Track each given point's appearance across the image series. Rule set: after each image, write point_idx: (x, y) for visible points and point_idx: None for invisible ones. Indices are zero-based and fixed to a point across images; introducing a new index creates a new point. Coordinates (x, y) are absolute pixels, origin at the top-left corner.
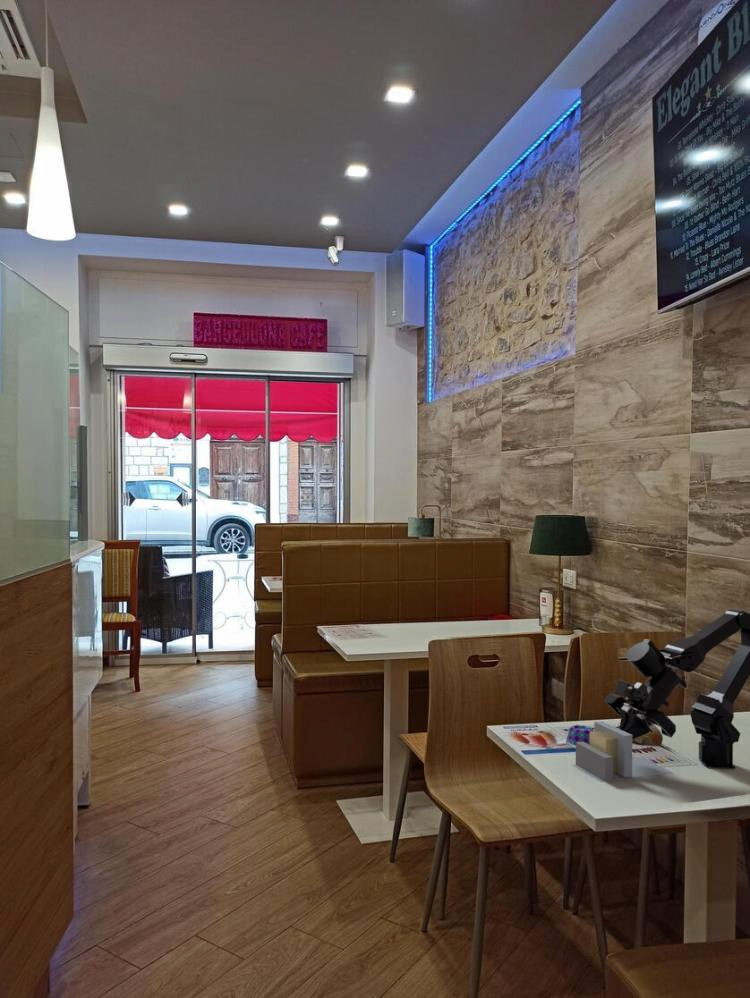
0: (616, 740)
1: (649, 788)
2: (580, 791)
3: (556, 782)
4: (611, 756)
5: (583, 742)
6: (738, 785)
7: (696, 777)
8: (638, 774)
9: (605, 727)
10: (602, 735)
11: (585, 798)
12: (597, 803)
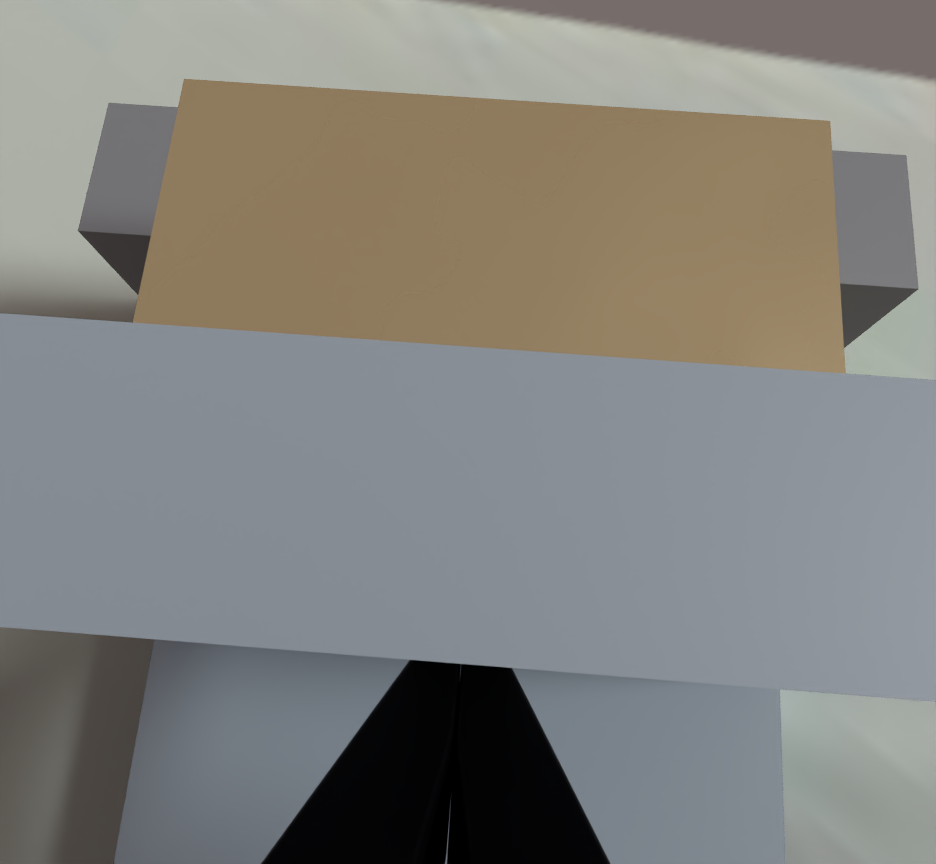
0: None
1: (23, 746)
2: (285, 79)
3: (538, 26)
4: (107, 226)
5: (881, 270)
6: None
7: None
8: (211, 804)
9: (677, 363)
10: (466, 198)
11: (147, 29)
12: (21, 48)
